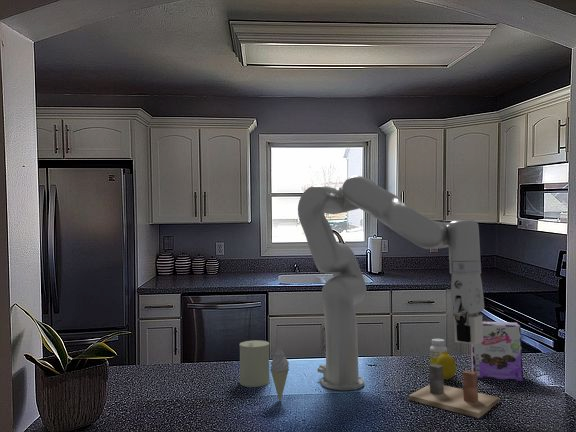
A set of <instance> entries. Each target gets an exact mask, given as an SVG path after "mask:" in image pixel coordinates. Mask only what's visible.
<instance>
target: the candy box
mask: <svg viewBox="0 0 576 432" xmlns="http://www.w3.org/2000/svg"><path fill="white" fill-rule="evenodd" d="M482 323H483V342H481V343H479V344H476V345H473V344H470V350H471V351H470V354H471V355H470V356H471V371H474V372H477V379H478V378H479V379H480V378H481V379H492V380H493V379H494V380H503V381H515V382H516V381H517V382H518V381H519V382H524V370H523V368H524V366H523V353H522V352H523V351H522V350H523V349H522V332H521V331H522V330H521V325H520V324H519V323H518V322H509V321H507V322H505V321H502V322H501V321H483V320H482Z"/></svg>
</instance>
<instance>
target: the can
mask: <svg viewBox="0 0 576 432" xmlns="http://www.w3.org/2000/svg"><path fill="white" fill-rule="evenodd" d="M270 379H271V378H270V342H268V341H267V340H261V339H260V340H254V339H253V340H245V341H242V342H240V343H239V382H238V383H239V385H241V386H244V387H246V388H258V387H264V386H268V385H269V384H270V382H271V380H270Z"/></svg>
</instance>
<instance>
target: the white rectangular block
mask: <svg viewBox="0 0 576 432" xmlns="http://www.w3.org/2000/svg"><path fill="white" fill-rule="evenodd" d="M461 316H463V317H464V319H465V316H464V315H461ZM482 321H483V315H482V314H479V315H475V314H469V322H468V326H470V336H471V341H470V342H463V341H458V340H457V325H456V320H455V317H454V316H453V329H454V334H453V335H454V343H458V344H459V343H460V344H466V345H471V344H473V345H476V344H479V343H481V342H483V323H482Z"/></svg>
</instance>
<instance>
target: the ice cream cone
mask: <svg viewBox="0 0 576 432" xmlns="http://www.w3.org/2000/svg"><path fill="white" fill-rule="evenodd" d="M270 365H271V366H269V372H270V373H271V377H272V380H273V383H274V386H275V392H276V394H277V395H276V396H277V398H278V401H279V400H281V401H282V398H283V395H284V394H283V393H284V391H285V390H284V389H285V386H286V381H287V377H288V374H289V371H290V369H289V368H290V367H289V366H290V363H289V360H288V359H287V358H286V356H285V352H284V351H283V349H282V346H281V344H280V343H278V346H277V348H276V351H275V353H274V357H273V358H272V360H271V362H270Z"/></svg>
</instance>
